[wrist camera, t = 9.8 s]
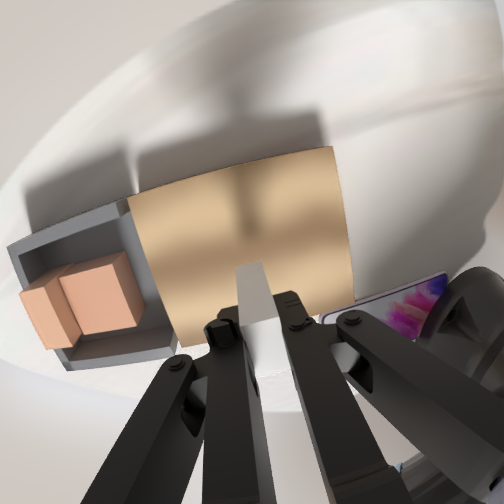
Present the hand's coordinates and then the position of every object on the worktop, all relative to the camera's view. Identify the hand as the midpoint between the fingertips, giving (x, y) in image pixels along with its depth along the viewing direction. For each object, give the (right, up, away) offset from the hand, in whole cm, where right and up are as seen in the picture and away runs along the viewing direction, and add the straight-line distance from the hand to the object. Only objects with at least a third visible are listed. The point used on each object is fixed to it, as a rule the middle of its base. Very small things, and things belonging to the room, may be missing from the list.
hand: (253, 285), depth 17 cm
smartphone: (+14, -5, +10) cm, 18 cm away
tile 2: (-12, -1, +5) cm, 13 cm away
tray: (-13, -1, +5) cm, 14 cm away
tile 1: (-14, -2, +2) cm, 14 cm away
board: (0, +3, +6) cm, 6 cm away
